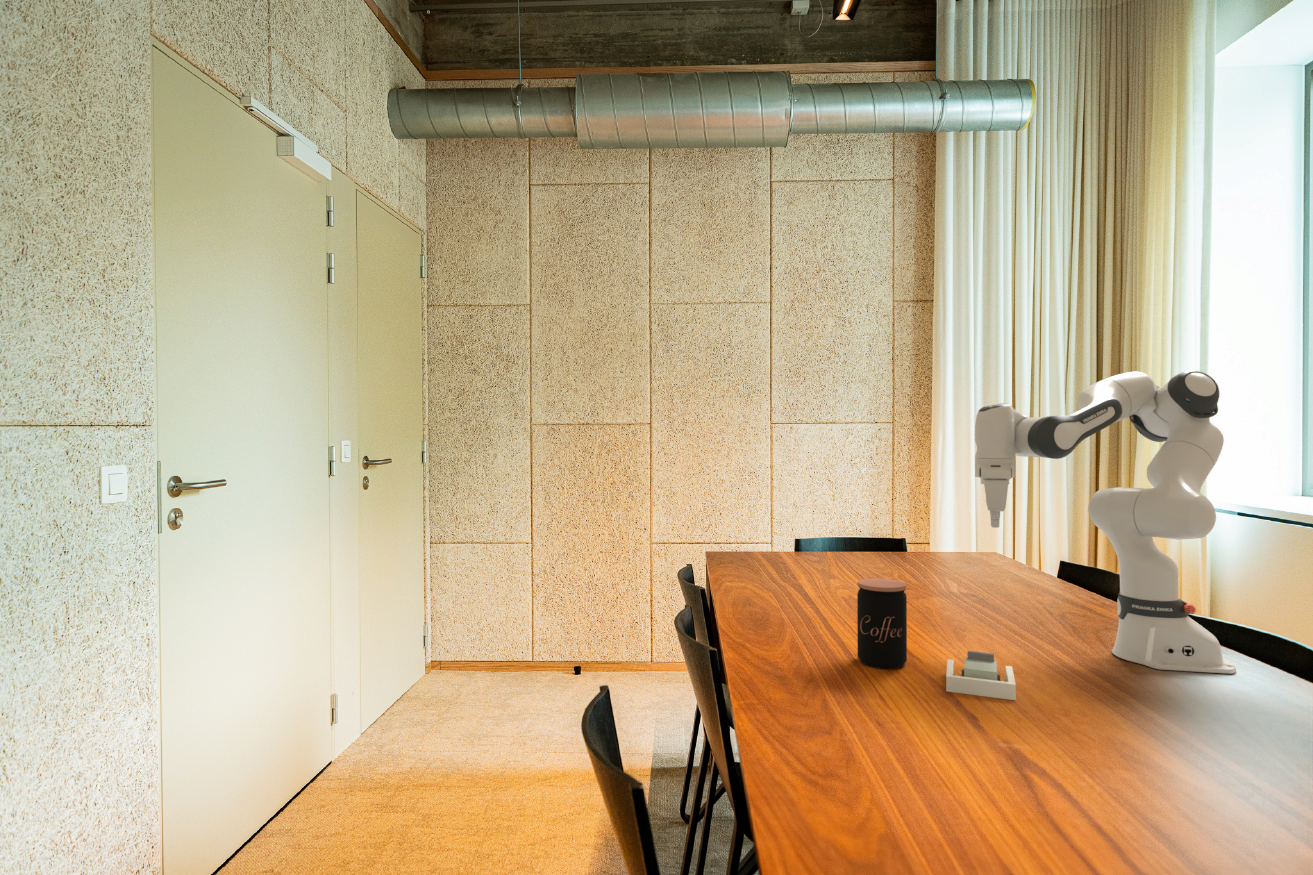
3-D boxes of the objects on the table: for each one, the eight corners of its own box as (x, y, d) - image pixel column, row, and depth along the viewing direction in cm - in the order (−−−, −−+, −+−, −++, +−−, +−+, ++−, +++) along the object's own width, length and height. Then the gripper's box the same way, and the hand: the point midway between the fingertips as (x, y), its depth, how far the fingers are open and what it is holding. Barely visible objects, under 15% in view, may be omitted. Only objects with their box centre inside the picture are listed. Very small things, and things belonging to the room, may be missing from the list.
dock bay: (1012, 680, 147) (1012, 666, 147) (1015, 700, 136) (1015, 684, 136) (947, 673, 152) (947, 659, 152) (946, 691, 141) (946, 676, 141)
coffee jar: (852, 665, 157) (852, 584, 157) (862, 653, 166) (862, 576, 167) (902, 672, 152) (902, 589, 152) (910, 659, 161) (910, 580, 162)
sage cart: (999, 683, 146) (999, 654, 146) (1000, 695, 139) (1000, 665, 139) (962, 678, 149) (961, 649, 149) (960, 690, 142) (960, 660, 142)
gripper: (979, 468, 183) (980, 522, 182) (981, 471, 164) (981, 530, 164) (1007, 469, 180) (1007, 523, 180) (1011, 471, 161) (1011, 532, 161)
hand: (995, 526), depth 172 cm, fingers closed
